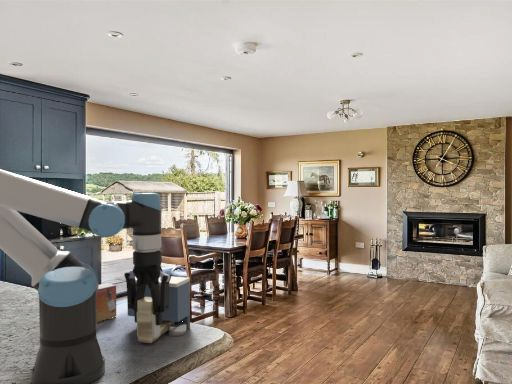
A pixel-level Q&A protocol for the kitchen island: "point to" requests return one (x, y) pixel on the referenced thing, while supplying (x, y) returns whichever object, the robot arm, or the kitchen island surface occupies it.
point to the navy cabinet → (174, 300)
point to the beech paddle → (148, 321)
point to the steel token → (177, 329)
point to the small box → (105, 302)
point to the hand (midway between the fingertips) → (148, 335)
